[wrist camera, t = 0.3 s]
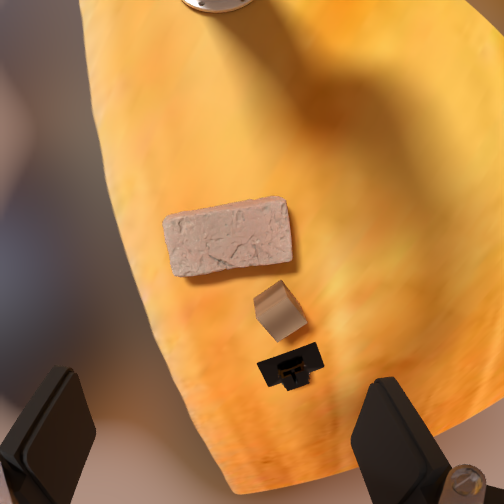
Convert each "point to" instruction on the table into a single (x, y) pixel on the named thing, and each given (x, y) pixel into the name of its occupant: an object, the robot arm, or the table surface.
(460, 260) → the table surface
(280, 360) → the black piece
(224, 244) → the brick
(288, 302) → the brown wooden block
